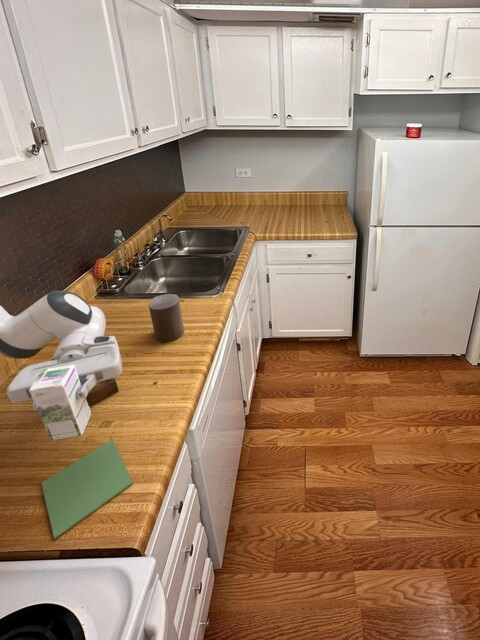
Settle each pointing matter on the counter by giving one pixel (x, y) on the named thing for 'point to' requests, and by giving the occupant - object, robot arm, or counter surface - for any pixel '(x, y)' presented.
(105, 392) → the frame
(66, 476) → the green mat
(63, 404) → the syrup box
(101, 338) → the robot arm
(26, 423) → the counter surface
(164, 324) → the pillar candle
